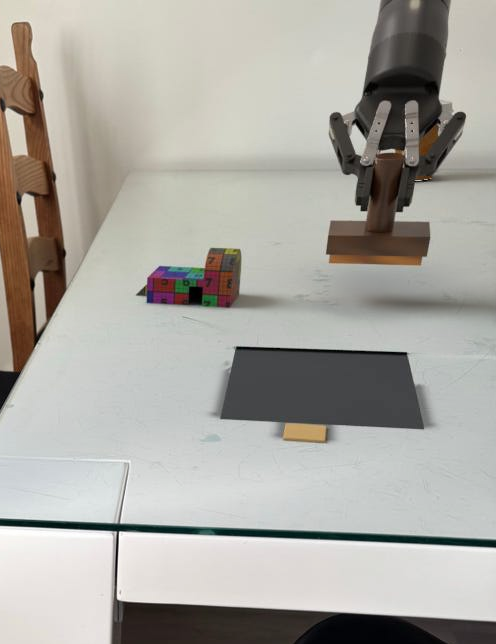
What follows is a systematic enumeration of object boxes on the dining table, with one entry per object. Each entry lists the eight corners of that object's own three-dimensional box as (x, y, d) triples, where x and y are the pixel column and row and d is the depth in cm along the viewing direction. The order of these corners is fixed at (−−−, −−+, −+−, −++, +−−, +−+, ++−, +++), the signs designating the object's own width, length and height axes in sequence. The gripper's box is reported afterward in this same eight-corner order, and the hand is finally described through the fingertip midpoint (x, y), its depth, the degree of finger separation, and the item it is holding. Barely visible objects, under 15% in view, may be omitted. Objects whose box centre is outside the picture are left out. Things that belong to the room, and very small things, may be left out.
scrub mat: (404, 358, 97) (406, 347, 96) (422, 440, 80) (424, 428, 79) (235, 352, 100) (236, 342, 100) (218, 430, 83) (219, 418, 83)
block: (242, 300, 116) (247, 238, 112) (228, 319, 110) (233, 255, 106) (141, 294, 120) (143, 234, 116) (123, 313, 113) (124, 250, 110)
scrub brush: (424, 250, 107) (442, 149, 100) (425, 266, 103) (444, 162, 97) (327, 248, 109) (339, 149, 103) (324, 264, 106) (336, 162, 99)
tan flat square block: (324, 439, 81) (326, 425, 80) (323, 454, 78) (325, 440, 78) (284, 436, 82) (285, 422, 81) (281, 451, 79) (283, 437, 78)
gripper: (337, 31, 102) (311, 182, 99) (486, 27, 98) (462, 184, 95) (334, 85, 109) (309, 227, 106) (473, 83, 105) (451, 231, 102)
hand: (382, 206), depth 101 cm, fingers closed on scrub brush, 3 cm apart
